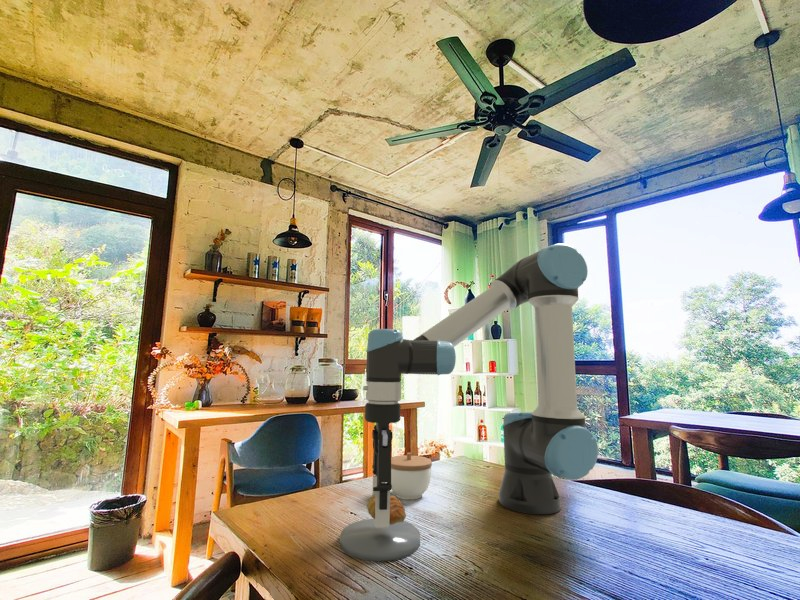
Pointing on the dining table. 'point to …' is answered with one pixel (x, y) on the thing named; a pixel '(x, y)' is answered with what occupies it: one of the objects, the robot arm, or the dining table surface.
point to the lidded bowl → (410, 475)
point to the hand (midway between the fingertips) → (380, 516)
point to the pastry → (395, 509)
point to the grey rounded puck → (379, 540)
